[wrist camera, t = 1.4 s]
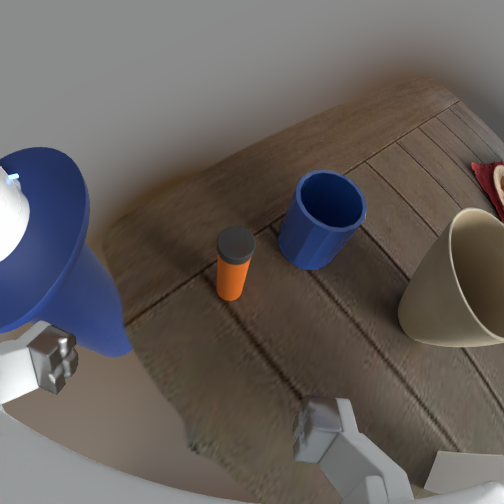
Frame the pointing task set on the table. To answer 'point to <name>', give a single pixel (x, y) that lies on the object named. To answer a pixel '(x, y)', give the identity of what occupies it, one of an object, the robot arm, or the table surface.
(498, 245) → the plant pot
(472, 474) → the milk
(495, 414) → the table surface
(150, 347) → the table surface
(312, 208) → the cup
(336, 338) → the table surface
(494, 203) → the plate with food
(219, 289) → the orange tube bottle
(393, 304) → the table surface
